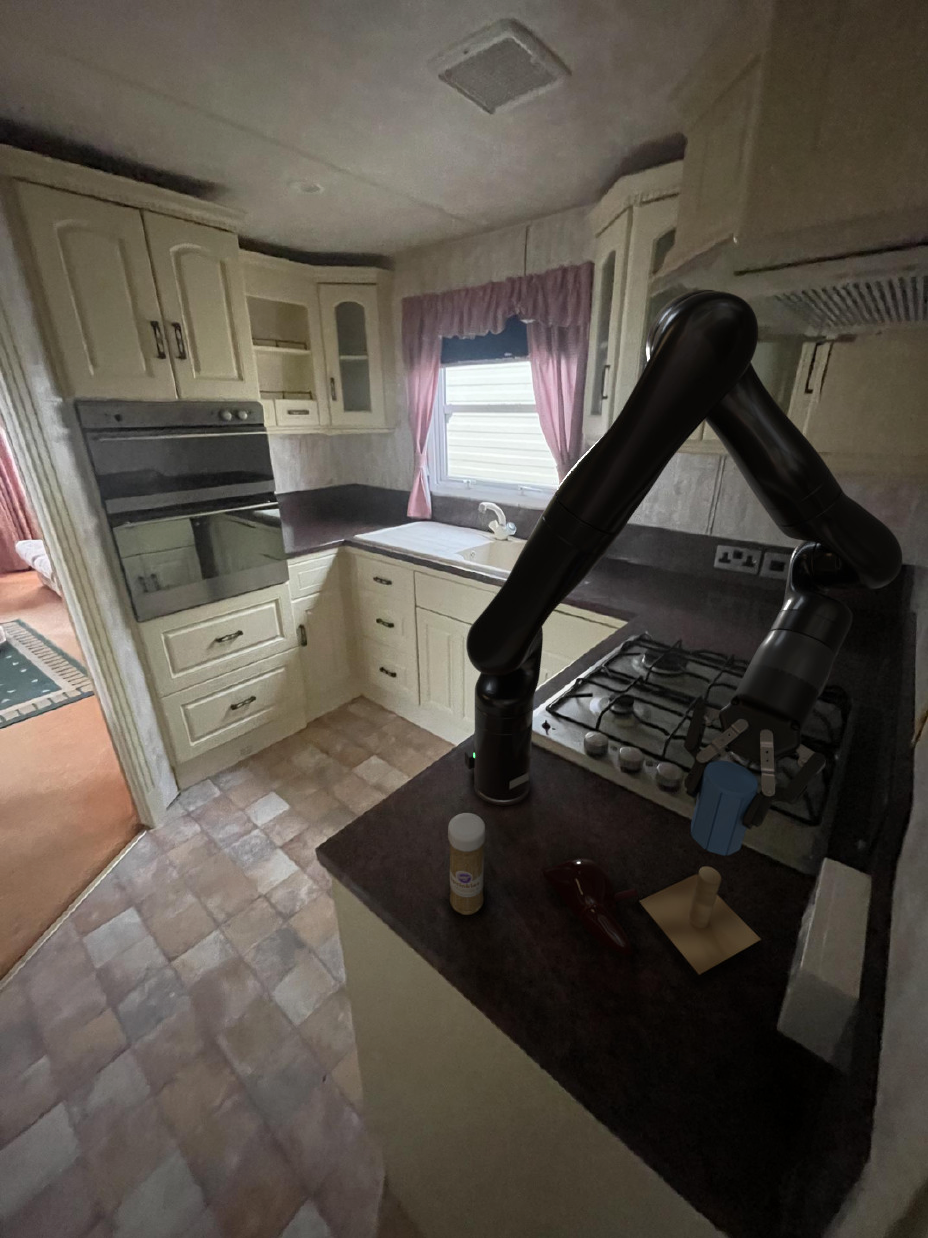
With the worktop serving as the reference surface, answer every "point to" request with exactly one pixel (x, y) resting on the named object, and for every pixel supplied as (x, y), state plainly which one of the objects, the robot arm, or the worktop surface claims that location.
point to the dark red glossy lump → (592, 900)
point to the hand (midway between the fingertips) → (717, 810)
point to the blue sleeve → (723, 807)
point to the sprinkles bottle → (466, 862)
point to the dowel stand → (700, 920)
